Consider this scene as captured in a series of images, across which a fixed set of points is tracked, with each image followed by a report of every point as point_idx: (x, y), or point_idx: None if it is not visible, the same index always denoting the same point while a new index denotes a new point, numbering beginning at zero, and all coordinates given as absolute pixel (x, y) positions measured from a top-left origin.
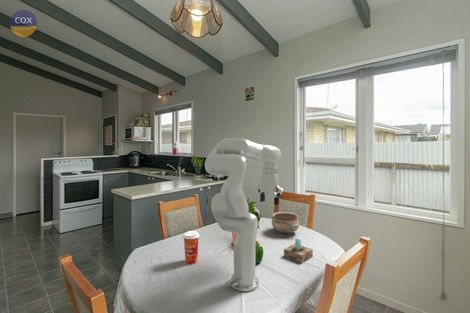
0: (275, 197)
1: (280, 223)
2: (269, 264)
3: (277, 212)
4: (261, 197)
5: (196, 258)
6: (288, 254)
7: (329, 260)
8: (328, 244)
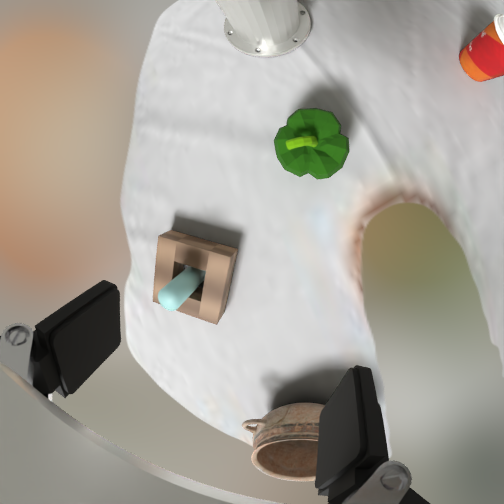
0: (38, 335)
1: (307, 423)
2: (256, 159)
3: None
4: (356, 417)
5: (465, 58)
6: (214, 247)
7: (125, 288)
8: (166, 380)
